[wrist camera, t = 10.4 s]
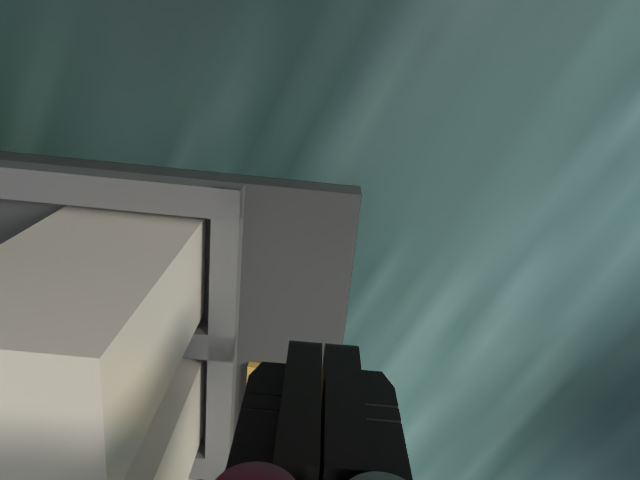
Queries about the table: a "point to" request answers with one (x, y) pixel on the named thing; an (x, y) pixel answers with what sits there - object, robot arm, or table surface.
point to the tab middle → (173, 428)
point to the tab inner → (92, 336)
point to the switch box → (219, 261)
